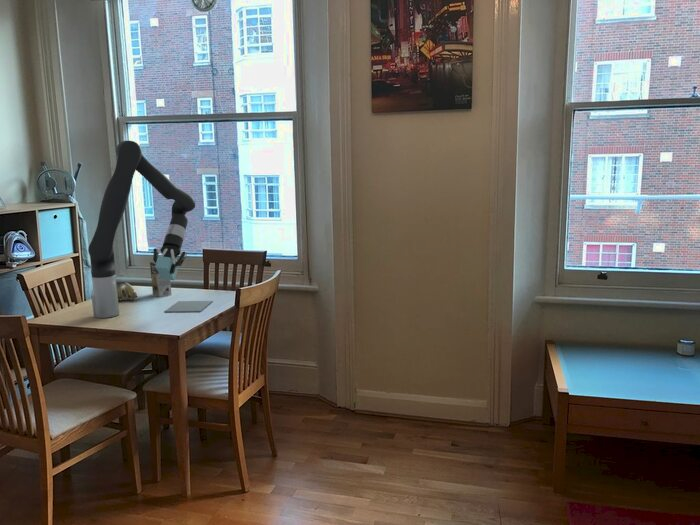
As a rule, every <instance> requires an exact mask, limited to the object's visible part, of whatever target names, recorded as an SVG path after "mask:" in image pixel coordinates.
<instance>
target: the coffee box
mask: <svg viewBox="0 0 700 525" xmlns="http://www.w3.org/2000/svg"><path fill="white" fill-rule="evenodd" d="M155 265H156V263H155V262H154V261H151V262H149V266H150V276H151V287H152V295H155V296H157V297H159V298H161V297H168V295H169V296H171V295H172V286H171V281H172V280H167V279H163V278H162V277H161V275H160V274H159V273H157V272H156V268H155Z"/></svg>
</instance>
